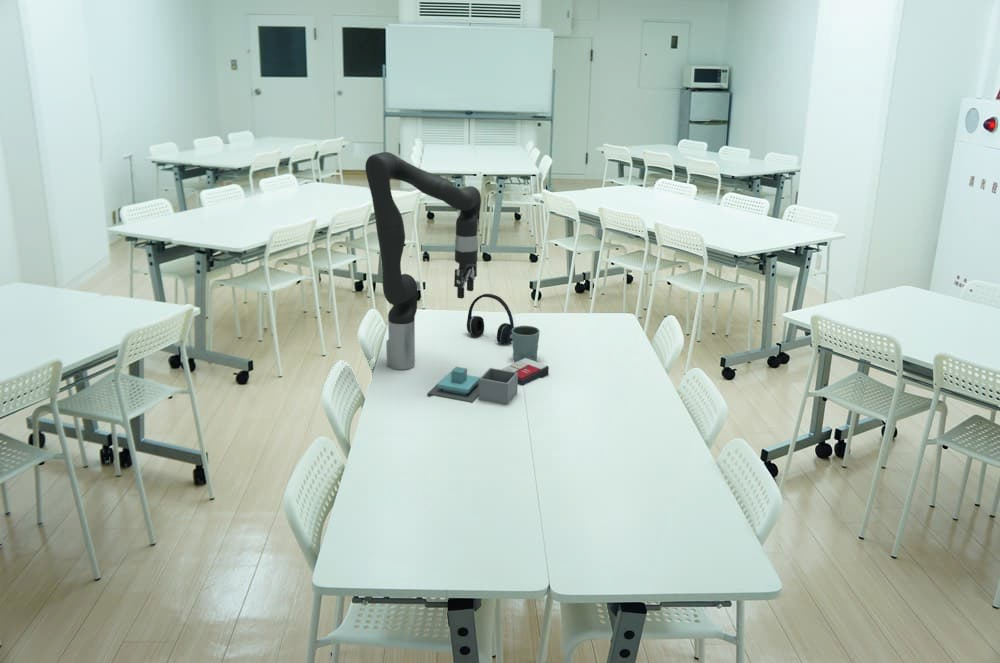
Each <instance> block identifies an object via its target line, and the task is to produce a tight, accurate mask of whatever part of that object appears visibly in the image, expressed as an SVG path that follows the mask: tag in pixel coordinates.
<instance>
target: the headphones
mask: <svg viewBox="0 0 1000 663" xmlns="http://www.w3.org/2000/svg"><path fill="white" fill-rule="evenodd" d="M482 298H490V299H492V300H495V301H497V302H499V303H500V305H502V307H503V308H504V309H505V311H506V313H507V316H508V320H509V323H508V322H507V323H506V322H503V323H501V324H500V325H499V327H498V328H497V333H496V341H497V343H500V344H502V345H506V344H508V343H509V344H510V343H513V342H512V329H513V328H514V327H515V324H514V317H513V315H512V312H511V310H510V308H509V306H508V304H507V303H506V301H505V300H504V299H502V297H500V296H498V295H495V294H494V293H483V294H481V295H479V296H477V297H476V298H475V299H474V300H473V301H472V302H471V304H470V306H469V310H468V313H467V321H466V330H467V332H468V333H469V334H470V336H472V337H480V336H481V335H483V333H484V332H485V321H484V319H483V317H482V316H479V315H474V316H473V315H472V314H473V309H474V306H475V304H476V303H477V302H478V301H479V300H481V299H482Z"/></svg>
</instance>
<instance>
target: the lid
mask: <svg viewBox="0 0 1000 663" xmlns="http://www.w3.org/2000/svg"><path fill="white" fill-rule="evenodd" d="M446 375H447V376H446ZM446 375H445V376H446V377H445V376H444V377H445V378H444V377H443V378H442V379H441V380H440V381H439V382H438V383H437V384H436V385H437V388H443V391H447V392H453V393H458V394H464V395H466V394H467V393H469V392H470V391H471V390H472V389H473V388H474V387H475V385H476V384H477V383H478V382H479V379H480V377H481V376H474V375H470V374H468V368H467V367H461V366H455V367H454V368H453V369H451V371H450V372H449V373H448V374H446Z"/></svg>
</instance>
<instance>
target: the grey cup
mask: <svg viewBox="0 0 1000 663" xmlns="http://www.w3.org/2000/svg"><path fill="white" fill-rule="evenodd" d="M540 333H541V331H540V329H539V328H538V327H537V326H533V325H517V326H514V328H513V329H512V342H511V343H512V359H513V362H514V363H515V362H517V361H520V360H522V359H524V358H527V359H530V360H533V361H536V362H538V360H537V359H538V348H539V339H540Z"/></svg>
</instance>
